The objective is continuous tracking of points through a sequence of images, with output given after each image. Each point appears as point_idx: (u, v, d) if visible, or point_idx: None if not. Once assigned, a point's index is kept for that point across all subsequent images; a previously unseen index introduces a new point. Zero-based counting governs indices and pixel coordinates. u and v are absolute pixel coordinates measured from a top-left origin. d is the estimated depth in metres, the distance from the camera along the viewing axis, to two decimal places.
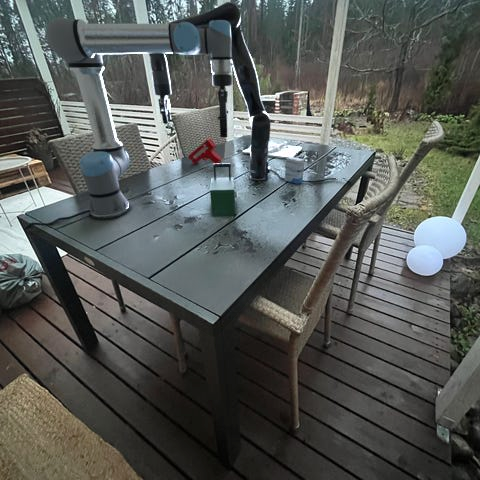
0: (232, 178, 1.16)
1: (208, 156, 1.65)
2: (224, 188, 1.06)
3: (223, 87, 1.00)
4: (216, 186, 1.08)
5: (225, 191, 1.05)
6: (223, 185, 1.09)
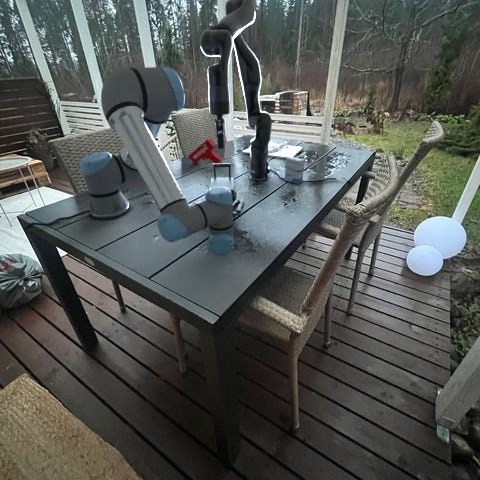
0: (232, 178, 1.16)
1: (208, 156, 1.65)
2: None
3: None
4: (216, 186, 1.08)
5: None
6: (223, 185, 1.09)
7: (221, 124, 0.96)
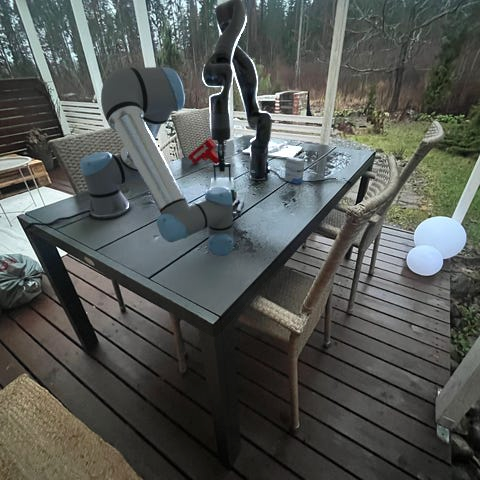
0: (232, 178, 1.16)
1: (208, 156, 1.65)
2: None
3: None
4: (216, 186, 1.08)
5: None
6: (223, 185, 1.09)
7: (222, 154, 1.03)
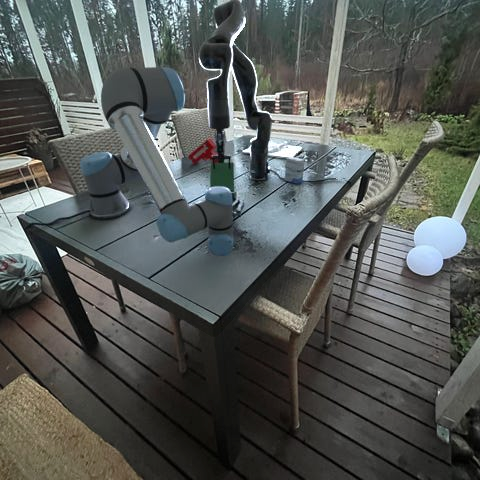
0: (232, 165, 1.10)
1: (208, 156, 1.65)
2: None
3: None
4: (215, 182, 1.06)
5: None
6: (223, 180, 1.07)
7: (221, 144, 0.96)
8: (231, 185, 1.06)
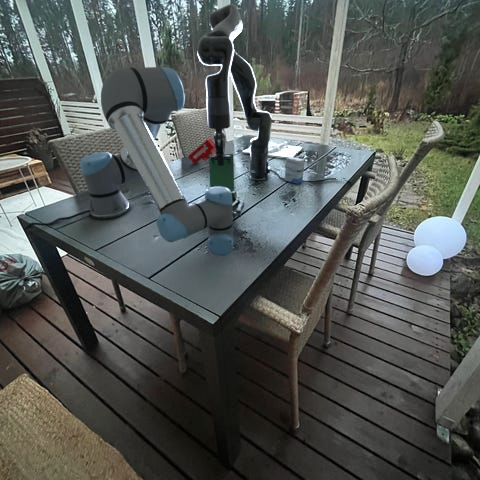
0: (232, 158, 1.04)
1: (208, 156, 1.65)
2: None
3: None
4: (215, 181, 1.04)
5: None
6: (223, 178, 1.04)
7: (221, 144, 0.89)
8: (231, 185, 1.04)
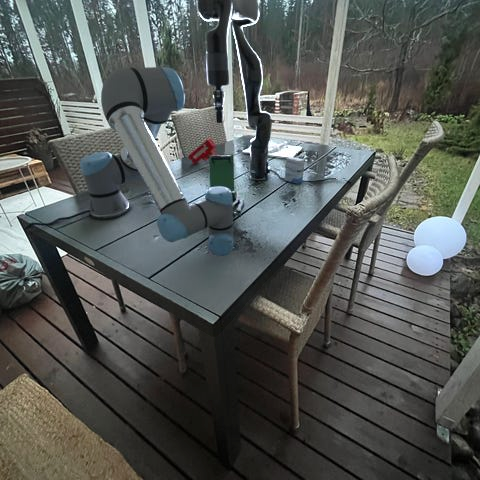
0: (232, 158, 1.04)
1: (208, 156, 1.65)
2: None
3: None
4: (215, 180, 1.04)
5: None
6: (223, 178, 1.04)
7: (220, 95, 0.90)
8: (231, 184, 1.05)
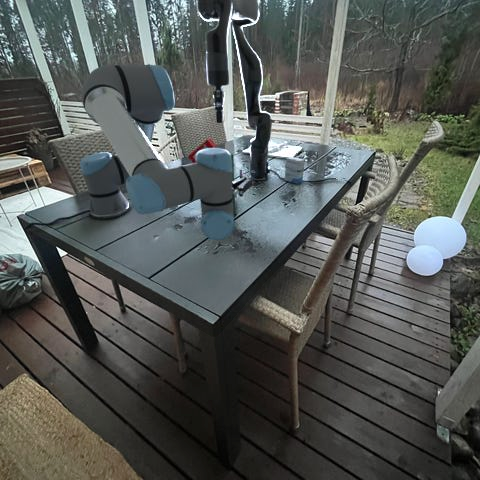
0: (232, 158, 1.04)
1: None
2: None
3: None
4: None
5: None
6: None
7: (220, 95, 0.90)
8: None
